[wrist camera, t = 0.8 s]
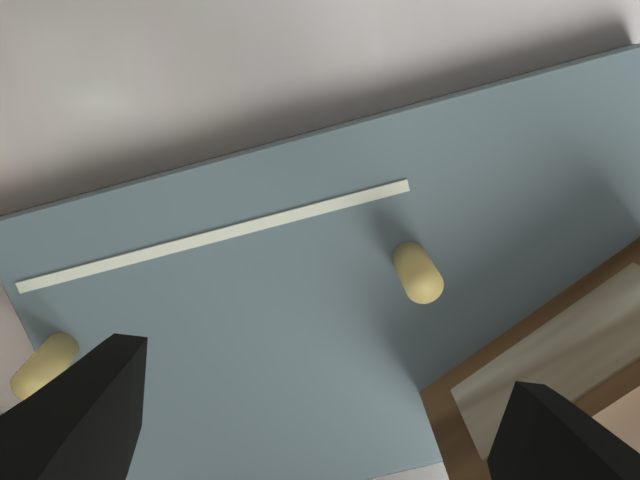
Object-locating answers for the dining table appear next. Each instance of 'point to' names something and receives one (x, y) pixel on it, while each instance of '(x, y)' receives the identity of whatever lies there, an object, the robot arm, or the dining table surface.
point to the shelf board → (333, 270)
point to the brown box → (549, 366)
